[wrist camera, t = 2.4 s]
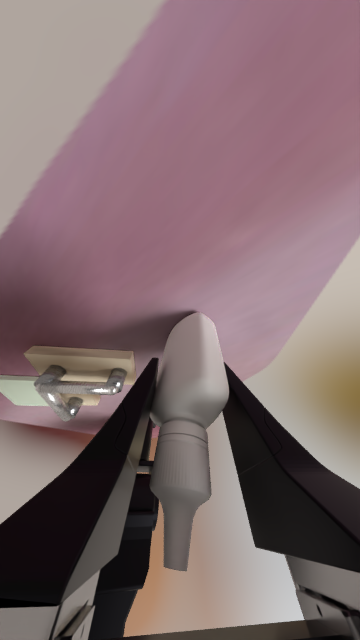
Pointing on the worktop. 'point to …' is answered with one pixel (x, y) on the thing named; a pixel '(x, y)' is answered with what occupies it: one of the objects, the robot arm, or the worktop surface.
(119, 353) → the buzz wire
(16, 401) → the pad
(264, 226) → the worktop surface
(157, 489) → the eye dropper bottle
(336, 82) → the worktop surface
